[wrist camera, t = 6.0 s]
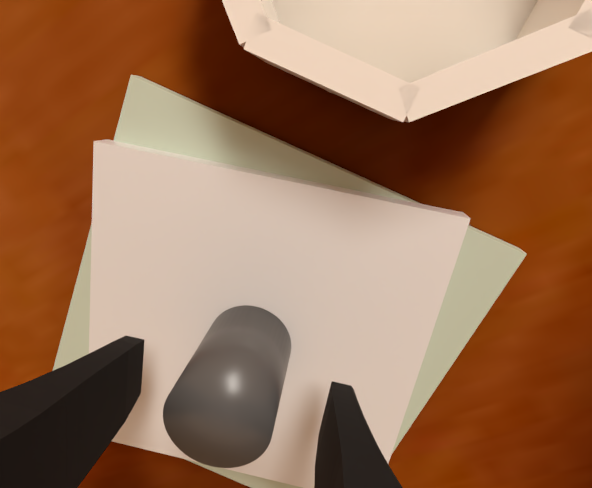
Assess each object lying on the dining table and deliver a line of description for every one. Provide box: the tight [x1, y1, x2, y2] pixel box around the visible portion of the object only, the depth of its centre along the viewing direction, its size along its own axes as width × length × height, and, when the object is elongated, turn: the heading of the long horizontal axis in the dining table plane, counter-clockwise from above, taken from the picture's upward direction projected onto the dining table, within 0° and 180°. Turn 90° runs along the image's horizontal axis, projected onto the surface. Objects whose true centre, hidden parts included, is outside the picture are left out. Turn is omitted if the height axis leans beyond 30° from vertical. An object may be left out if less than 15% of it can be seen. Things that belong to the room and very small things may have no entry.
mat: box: [53, 75, 527, 488], centre depth 16 cm, size 14×14×1 cm
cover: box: [89, 139, 470, 488], centre depth 13 cm, size 12×12×5 cm
